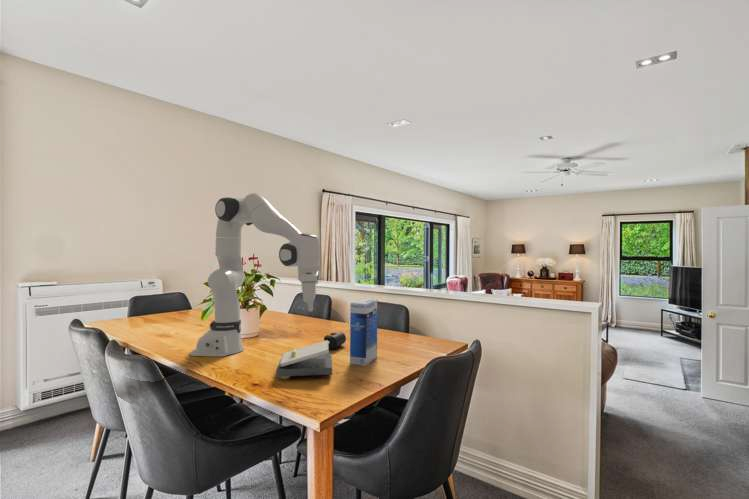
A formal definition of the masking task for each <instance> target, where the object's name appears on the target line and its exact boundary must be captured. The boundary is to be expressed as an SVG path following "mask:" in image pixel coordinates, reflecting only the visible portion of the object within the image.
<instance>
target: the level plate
mask: <svg viewBox="0 0 749 499" xmlns="http://www.w3.org/2000/svg"><path fill="white" fill-rule="evenodd" d="M323 354H330V350H329V341H328V340H327V341H324V340H323V341H320V342H316V343H313V344H310V345H307V346H303V347H301V348H296V347H295V348H293V349H292V350H290V351H289V350H288V351H287V352H283V353H282V354H281V358H280V359H281V360H279V362H278V364H279V365H277V367H283V366H286V365H289V364H293V363H296V362H299V361H303V360H306V359H309V358H313V357H316V356H320V355H323Z"/></svg>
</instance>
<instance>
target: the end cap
mask: <svg viewBox="0 0 749 499" xmlns="http://www.w3.org/2000/svg"><path fill="white" fill-rule="evenodd" d="M346 339H347V337H346V334H345V333H343V332H342V331H339V332H331V333H329V334H327V335H324V336H323V341H327V340H328V343H329V351H334V350H336V349H337V348H339V347H341V346H342V345H344V344H345V342H346V341H347V340H346Z"/></svg>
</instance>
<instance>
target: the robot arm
mask: <svg viewBox="0 0 749 499" xmlns="http://www.w3.org/2000/svg"><path fill="white" fill-rule="evenodd" d="M214 209H215V211H214V212H215V215H216V217H217V218H218V219H217V225H216V231H215V256H216V258H217V261H218V266H219V267H218V268H217V269H216V270H214V271H213V272H211V273H210V274H209V276H208V278H207V285H208V288H209V289H210V290H211V294H212V299H213V304H214V320H212V321H211V322H210V324H209V330H208V331H207V332H205V333H204V334H203V335H202V336H200V337H199V338H198V340H197V341H196V342H197V343H196V347H194V348H193V349H192V350H191V352H190V356H192V357H222V358H223V357H226V356H230V355H234V354H237V353H241V352H242V351H244V350H245V349H244V345H243V341H242V334H241V333H242V319H241V302H240V300H239V297H238V293H237V292H238V291H237V289H239V288H240V287H241V286H242V285H243V284H244V282H245V279H246V275H245V272H244V269H243V261H242V228H243V226H244V225H246V226H251V225H253V226H254V227H255V228H256V229H257V230H259V231H260V232H262V233H266V234H270V235H271V234H272V235H276V236H280V237H283V238H285V239H286V240H288V241H289V242H286V243H284V244H282V245H281V247H280V249H279V252H278V258H279V261H280V263H281V264H282V265H283V266H284V267H289V268H290V267H297V280H298V281H299V282H300V283H301V292H302V299H303V302H304V303H306V305H307V311H308V312H313V310H314V302H315V298H316V295H317V287H316V286H317V284H319V280H320V281H321V280H322V266H321V262H320V261H321V257H322V251H321V243H320V242H321V241H320V239H319V236H318V235H316V234H313V233H304V232H303V233H302V232H301V230H299V229H298V227H296V226H295V225H294V224H293V223H292V222H290V221H289V219H287V218H286V217H284V216H283V215H281V213H279V211H277V210H276V209H275V208H274V207H273V205H272V204H271V203H270V202H269V200H267V199H266V198H265V197H264V196H263V195H261V194H260V193H256V192H253V193H249V194H247V195H246V196H245V197H244V198H242V197H241V198H233V197H223V198H220V199H218V201H217V202H216V203H215V208H214Z"/></svg>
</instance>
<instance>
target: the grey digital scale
mask: <svg viewBox="0 0 749 499" xmlns="http://www.w3.org/2000/svg"><path fill="white" fill-rule="evenodd" d="M332 354H333V353H330V352H329V353H326V354H323V355H320V356H316V357H313V358H309V359H306V360H303V361H299V362H296V363H293V364H289V365H286V366H283V367H278V365H279V363H278V365H277V367H276V370H275V374H276V375H275V376H276V377H280V380H281V381H284V382H285V381H290V380H291V377H296V376H297V377H300V376H301V377H302V376H303V377H305V376H323V375H326V376H327V375H328V376H329V375H333V362H332V360H333V359H332V358H333V357H332ZM280 360H281V358H280ZM280 360H279V361H280Z"/></svg>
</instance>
